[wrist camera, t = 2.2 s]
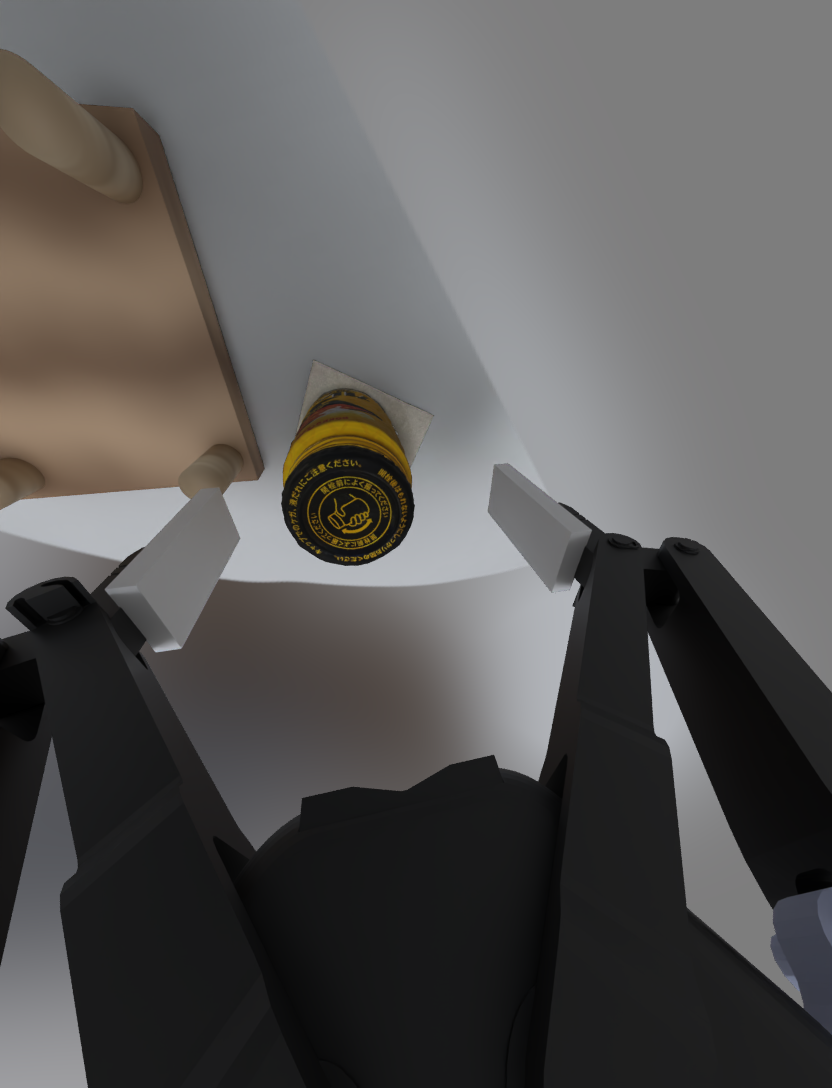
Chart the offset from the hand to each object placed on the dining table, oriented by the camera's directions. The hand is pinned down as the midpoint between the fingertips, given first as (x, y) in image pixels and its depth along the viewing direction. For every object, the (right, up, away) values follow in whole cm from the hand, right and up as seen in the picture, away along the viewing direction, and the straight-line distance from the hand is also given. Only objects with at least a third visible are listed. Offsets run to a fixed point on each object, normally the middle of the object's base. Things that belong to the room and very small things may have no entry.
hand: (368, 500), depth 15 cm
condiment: (-2, +5, +7) cm, 9 cm away
